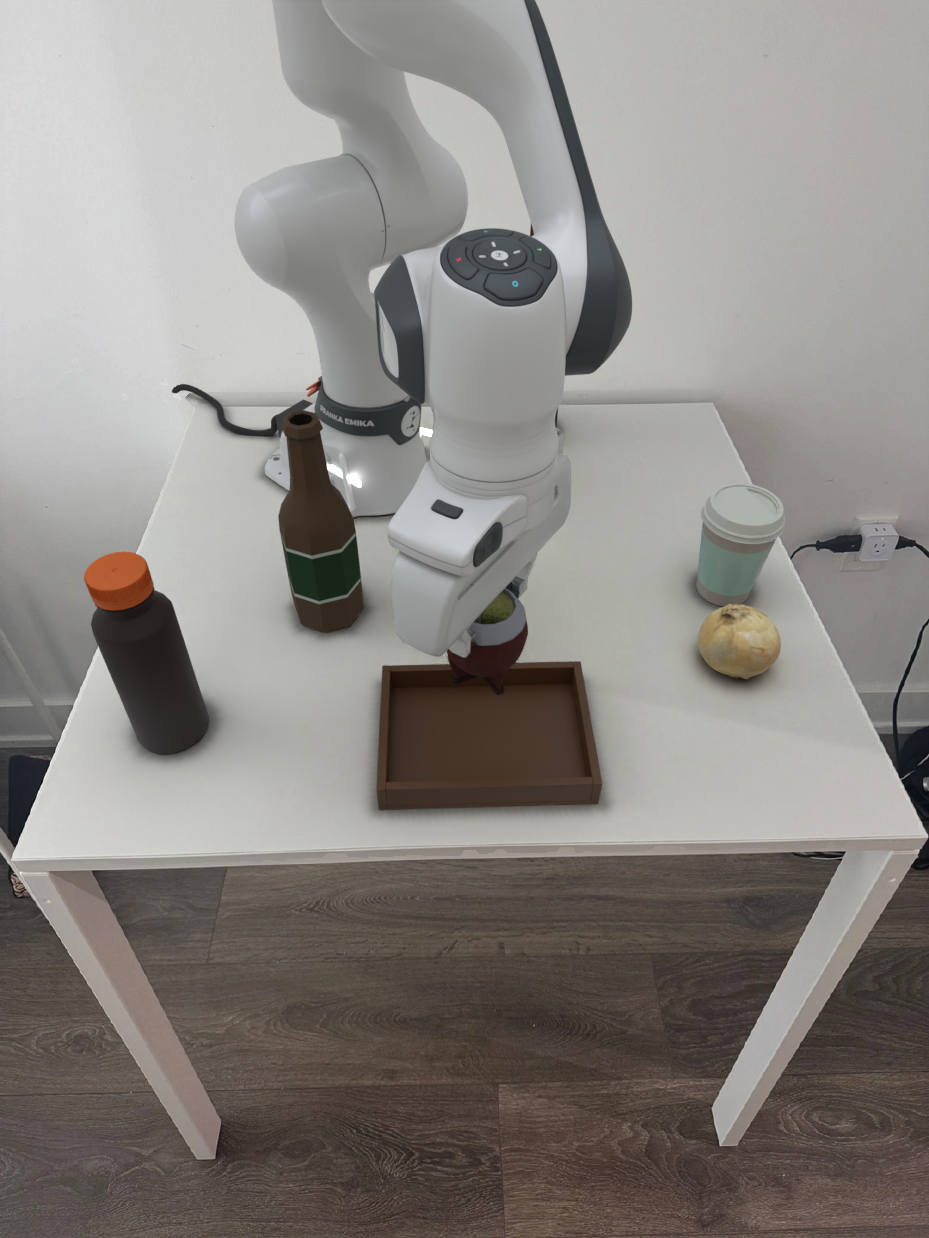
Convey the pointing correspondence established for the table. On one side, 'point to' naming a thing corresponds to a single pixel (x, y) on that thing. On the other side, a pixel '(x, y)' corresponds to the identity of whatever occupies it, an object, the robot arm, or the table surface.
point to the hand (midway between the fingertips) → (488, 620)
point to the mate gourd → (493, 643)
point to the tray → (486, 739)
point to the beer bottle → (318, 533)
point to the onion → (739, 641)
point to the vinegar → (145, 653)
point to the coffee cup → (736, 540)
